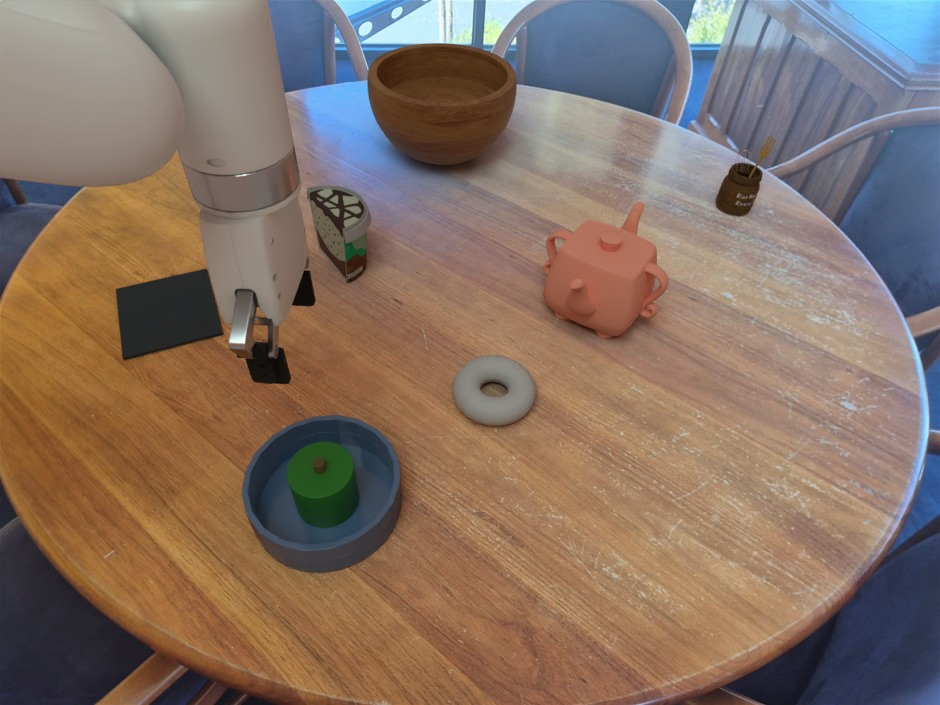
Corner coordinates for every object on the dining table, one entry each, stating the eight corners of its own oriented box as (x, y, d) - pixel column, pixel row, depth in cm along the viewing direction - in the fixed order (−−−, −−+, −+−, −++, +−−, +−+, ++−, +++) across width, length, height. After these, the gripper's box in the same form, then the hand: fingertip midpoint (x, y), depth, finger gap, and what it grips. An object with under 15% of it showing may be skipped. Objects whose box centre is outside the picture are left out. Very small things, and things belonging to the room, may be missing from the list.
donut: (545, 385, 77) (473, 356, 80) (550, 367, 75) (475, 338, 77) (514, 445, 71) (437, 411, 73) (517, 427, 68) (437, 393, 71)
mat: (123, 360, 77) (122, 358, 77) (116, 290, 86) (115, 288, 85) (223, 334, 81) (222, 332, 80) (207, 270, 89) (206, 268, 89)
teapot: (556, 357, 80) (572, 282, 71) (527, 274, 91) (537, 201, 82) (665, 346, 82) (694, 272, 73) (624, 267, 93) (644, 194, 84)
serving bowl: (271, 598, 58) (259, 575, 54) (241, 468, 67) (229, 442, 63) (423, 538, 62) (422, 514, 59) (375, 425, 72) (372, 398, 68)
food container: (390, 274, 90) (386, 216, 83) (352, 289, 88) (344, 231, 80) (351, 231, 97) (344, 174, 90) (315, 243, 94) (305, 186, 87)
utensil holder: (706, 202, 106) (731, 137, 97) (732, 193, 109) (759, 129, 100) (732, 220, 103) (759, 155, 94) (758, 211, 105) (788, 145, 96)
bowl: (409, 207, 102) (406, 119, 91) (352, 138, 116) (343, 56, 105) (536, 172, 111) (547, 89, 100) (468, 112, 125) (471, 34, 114)
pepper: (305, 537, 62) (292, 501, 56) (290, 485, 65) (277, 446, 60) (367, 514, 63) (360, 477, 58) (349, 465, 67) (341, 426, 62)
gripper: (228, 111, 49) (270, 276, 62) (140, 242, 38) (214, 413, 50) (322, 116, 49) (345, 280, 62) (263, 249, 38) (306, 419, 50)
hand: (286, 340), depth 56 cm, fingers open, 9 cm apart
